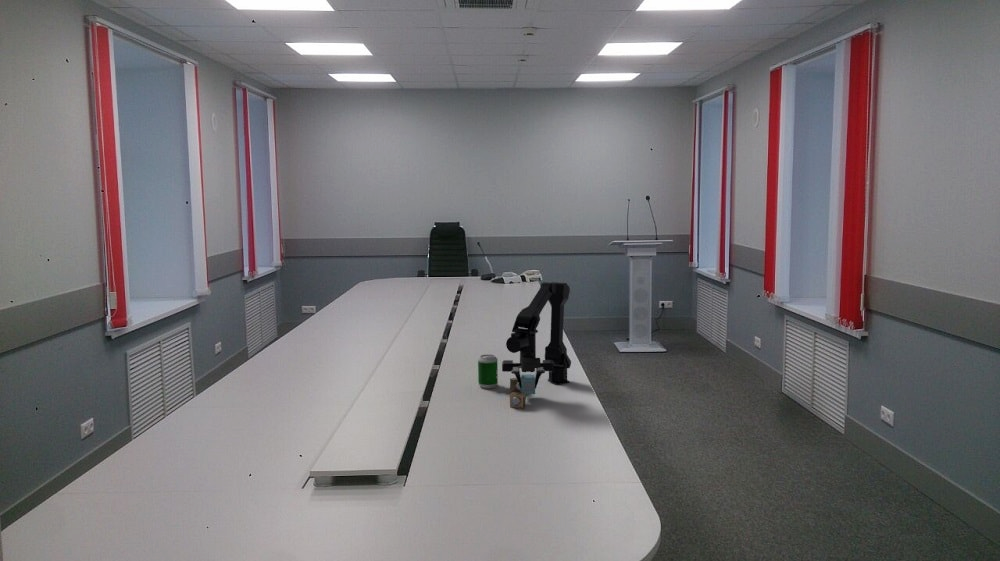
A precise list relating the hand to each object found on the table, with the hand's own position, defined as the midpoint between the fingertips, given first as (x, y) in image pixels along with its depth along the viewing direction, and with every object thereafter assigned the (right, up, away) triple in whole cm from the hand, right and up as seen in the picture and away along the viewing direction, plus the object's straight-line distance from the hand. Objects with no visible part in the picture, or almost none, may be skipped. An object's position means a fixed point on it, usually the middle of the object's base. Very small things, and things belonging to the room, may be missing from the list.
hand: (528, 388), depth 237 cm
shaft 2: (-4, -5, -8) cm, 10 cm away
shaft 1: (-3, -3, +9) cm, 10 cm away
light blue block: (0, -1, 0) cm, 1 cm away
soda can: (-15, -2, +16) cm, 22 cm away
